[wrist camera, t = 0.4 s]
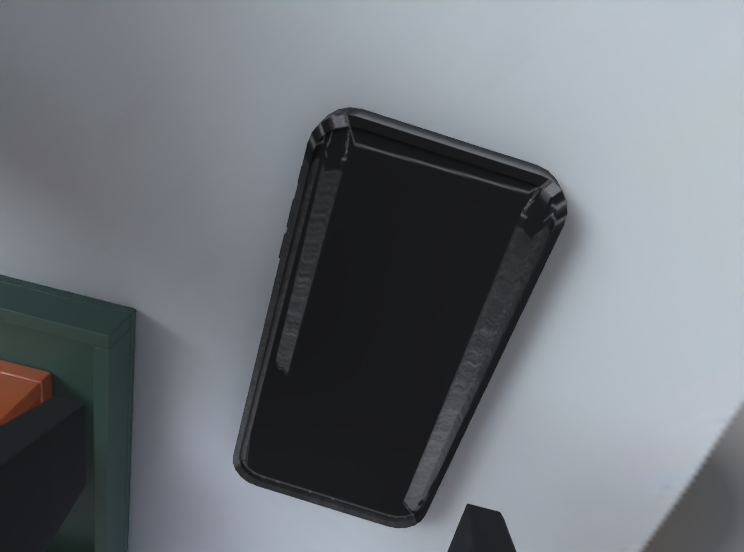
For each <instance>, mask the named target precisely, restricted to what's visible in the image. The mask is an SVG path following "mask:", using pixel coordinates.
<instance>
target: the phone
mask: <svg viewBox="0 0 744 552" xmlns="http://www.w3.org/2000/svg"><path fill="white" fill-rule="evenodd" d="M566 216H567V201H566V199H565V196H564V194H563V192H562V190H561V188H560V186H559V184H558V182H557V180H556V179H555V178H554V177H553V176H552V175H551V174H550V173H549V171H547V170H545V169H543V168H541V167H539V166H538V165H535V164H532V163H528V162H525V161H522V160H519V159H516V158H513V157H510V156H507V155H503V154H500V153H497V152H494V151H491V150H488V149H485V148H482V147H479V146H475V145H472V144H469V143H466V142H463V141H460V140H457V139H454V138H450V137H447V136H444V135H441V134H438V133H435V132H432V131H429V130H425V129H422V128H419V127H416V126H413V125H410V124H407V123H404V122H401V121H397V120H394V119H391V118H388V117H385V116H382V115H379V114H376V113H372V112H369V111H366V110H363V109H357V108H351V107H350V108H344V109H338V110H337V111H335V112H333V113H331V114H329V115H328V116H327V117H326V118H325V119H324V120H323V121H322V122H321V123H320V124H319V125H318V126H317V127H316V128H315V129H314V130H313V132H312V134H311V136H310V138H309V141H308V143H307V148H306V152H305V156H304V160H303V164H302V167H301V171H300V175H299V179H298V185H297V190H296V194H295V198H294V199H293V202H292V206H291V211H290V215H289V219H288V223H287V227H288V228H287V232H286V233H285V235H284V238H283V242H282V246H281V250H280V255H279V258H280V261H279V265H278V270H277V274H276V278H275V282H274V286H273V291H272V295H271V299H270V303H269V307H268V312H267V316H266V320H265V324H264V329H263V333H262V337H261V341H260V345H259V350H258V354H257V358H256V362H255V366H254V371H253V375H252V379H251V383H250V387H249V392H248V396H247V400H246V404H245V408H244V413H243V417H242V421H241V425H240V430H239V434H238V438H237V442H236V446H235V451H234V455H233V464H234V467H235V470H236V471H237V472H238V474H239V475H240V476H241V477H242V478H243V479H245V480H246V481H247V482H249V483H251V484H254V485H256V486H259V487H262V488H265V489H269V490H272V491H275V492H278V493H282V494H285V495H288V496H291V497H295V498H298V499H301V500H304V501H308V502H311V503H314V504H317V505H321V506H324V507H327V508H330V509H333V510H337V511H340V512H343V513H346V514H350V515H353V516H356V517H359V518H363V519H366V520H369V521H372V522H375V523H379V524H382V525H385V526H389V527H394V528H407V527H411V526H414V525H416V524H417V523H419V522H420V521H421V520H422V519H423V518H424V516H425V515H426V513H427V511H428V509H429V507H430V504H431V502H432V500H433V498H434V496H435V494H436V492H437V490H438V488H439V486H440V484H441V481H442V479H443V477H444V475H445V473H446V471H447V469H448V467H449V465H450V463H451V460H452V458H453V456H454V454H455V452H456V450H457V448H458V446H459V444H460V442H461V440H462V437H463V435H464V433H465V431H466V429H467V427H468V425H469V423H470V421H471V419H472V416H473V414H474V412H475V410H476V408H477V406H478V404H479V402H480V400H481V398H482V395H483V393H484V391H485V389H486V387H487V385H488V383H489V381H490V379H491V377H492V375H493V372H494V370H495V368H496V366H497V364H498V362H499V360H500V358H501V356H502V354H503V351H504V349H505V347H506V345H507V343H508V341H509V339H510V337H511V335H512V333H513V331H514V328H515V326H516V324H517V322H518V320H519V318H520V316H521V314H522V312H523V310H524V307H525V305H526V303H527V301H528V299H529V297H530V295H531V293H532V291H533V289H534V287H535V284H536V282H537V280H538V278H539V276H540V274H541V272H542V270H543V268H544V266H545V263H546V261H547V259H548V257H549V255H550V253H551V251H552V249H553V247H554V245H555V243H556V240H557V238H558V236H559V234H560V232H561V230H562V228H563V226H564V223H565V219H566Z"/></svg>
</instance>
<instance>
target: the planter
mask: <svg viewBox="0 0 744 552" xmlns="http://www.w3.org/2000/svg"><path fill="white" fill-rule="evenodd" d="M51 397H53V390H52V373H51V372H48V371H44V370H40V369H36V368H32V367H28V366H24V365H20V364H16V363H12V362H9V361H5V360H1V359H0V426H1V425H3V424H4V423H6V422H8V421H10V420H11V419H13V418H15V417H17V416H19V415H20V414H22V413H24V412H26V411H28V410H29V409H31V408H33V407H35V406H37V405H38V404H40V403H42V402H44V401H46V400H48V399H49V398H51Z"/></svg>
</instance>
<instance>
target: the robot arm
mask: <svg viewBox="0 0 744 552" xmlns="http://www.w3.org/2000/svg"><path fill="white" fill-rule="evenodd" d="M85 485H86V404H83V403H79V402H75V401H71V400H67V399H63V398H60V397H56V396H53V397H51V398H49V399H48V400H46V401H44V402H42V403H40V404H38V405H37V406H35V407H33V408H31V409H29V410H28V411H26V412H24V413H22V414H20V415H19V416H17V417H15V418H13V419H11V420H10V421H8V422H6V423H4V424H3V425H1V426H0V552H44V550H45V549H46V548H47V546H48V545H49V544H50V542H51V541H52V540H53V538H54V537H55V535H56V534H57V532H58V531H59V529H60V527H61V526H62V524H63V522H64V521H65V519H66V518H67V516H68V514H69V513H70V511H71V509H72V507H73V506H74V504H75V502H76V501H77V499H78V497H79V495H80V494H81V492H82V490H83V488H84V487H85ZM447 552H516V550H515V547H514V544H513V542H512V539H511V537H510V534H509V531H508V529H507V526H506V523H505V520H504V518H503V516H502V515H501V513H500V512H498V511H494V510H490V509H486V508H482V507H479V506H475V505H471V504H467V505H466V508H465V510H464V513H463V515H462V517H461V520H460V522H459V525H458V527H457V530H456V532H455V534H454V537H453V539H452V542H451V544H450V547H449V549H448V551H447Z"/></svg>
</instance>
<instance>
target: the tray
mask: <svg viewBox="0 0 744 552" xmlns="http://www.w3.org/2000/svg"><path fill="white" fill-rule="evenodd" d="M135 313H136V310H135V309H132V308H129V307H125V306H121V305H117V304H113V303H109V302H105V301H101V300H97V299H93V298H89V297H85V296H81V295H77V294H73V293H69V292H65V291H61V290H57V289H53V288H50V287H46V286H42V285H38V284H34V283H30V282H26V281H22V280H18V279H14V278H10V277H6V276H2V275H0V359H1V360H5V361H9V362H12V363H16V364H20V365H24V366H28V367H32V368H36V369H40V370H44V371H48V372H51V373H52V390H53V396H56V397H60V398H63V399H67V400H71V401H75V402H79V403H83V404H86V485H85V487H84V488H83V490H82V492H81V494H80V495H79V497H78V499H77V501H76V502H75V504H74V506H73V507H72V509H71V511H70V513H69V514H68V516H67V518H66V519H65V521H64V522H63V524H62V526H61V527H60V529H59V531H58V532H57V534H56V535H55V537H54V538H53V540H52V541H51V542H50V544H49V545H48V546H47V548H46V549H45V550H44V552H128V528H129V497H130V467H131V436H132V405H133V375H134V344H135Z"/></svg>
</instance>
